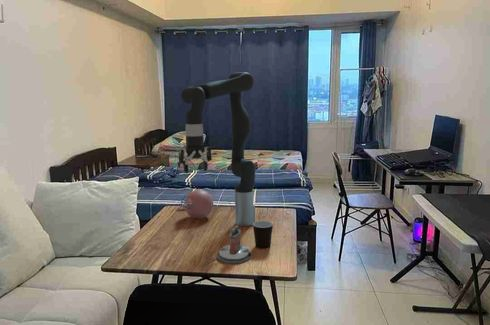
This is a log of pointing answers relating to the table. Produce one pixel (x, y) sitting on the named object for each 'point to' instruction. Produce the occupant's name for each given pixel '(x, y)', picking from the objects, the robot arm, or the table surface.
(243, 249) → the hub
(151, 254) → the table surface
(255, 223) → the coffee mug
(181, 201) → the gear
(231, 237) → the lighter
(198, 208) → the balloon
